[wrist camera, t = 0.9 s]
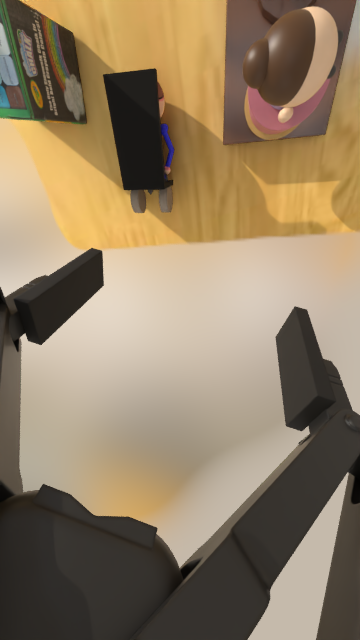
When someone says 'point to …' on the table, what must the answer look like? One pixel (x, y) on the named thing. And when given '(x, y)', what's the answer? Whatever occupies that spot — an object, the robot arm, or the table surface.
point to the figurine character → (140, 135)
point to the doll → (289, 71)
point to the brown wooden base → (253, 24)
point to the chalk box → (37, 68)
